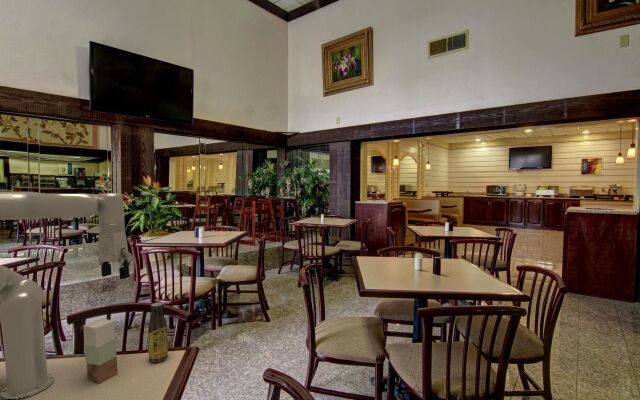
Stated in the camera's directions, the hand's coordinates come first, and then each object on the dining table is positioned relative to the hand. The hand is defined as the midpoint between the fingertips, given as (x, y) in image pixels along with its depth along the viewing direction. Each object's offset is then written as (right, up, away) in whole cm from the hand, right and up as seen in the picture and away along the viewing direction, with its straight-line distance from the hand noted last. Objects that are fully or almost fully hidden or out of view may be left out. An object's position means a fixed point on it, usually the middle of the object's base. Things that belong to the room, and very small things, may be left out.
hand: (115, 276), depth 118 cm
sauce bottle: (+14, -30, +2) cm, 33 cm away
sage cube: (+1, -25, -9) cm, 26 cm away
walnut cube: (+1, -31, -8) cm, 32 cm away
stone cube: (0, -19, -9) cm, 21 cm away
